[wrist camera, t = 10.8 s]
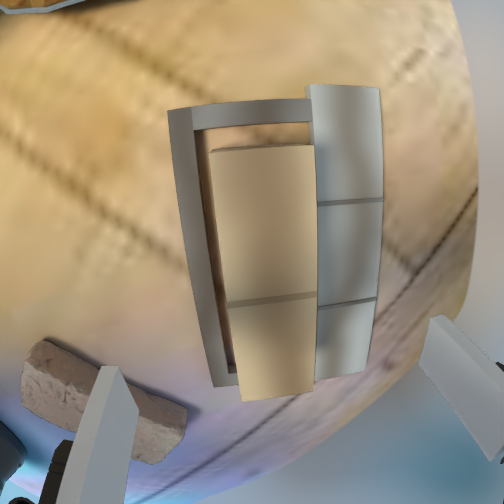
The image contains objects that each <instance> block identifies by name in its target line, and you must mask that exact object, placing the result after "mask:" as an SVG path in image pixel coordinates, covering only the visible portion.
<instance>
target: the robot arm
mask: <svg viewBox="0 0 504 504" xmlns="http://www.w3.org/2000/svg"><path fill="white" fill-rule="evenodd" d="M418 365H419V366H420V367H421V368H422V370H423V371H424V372H425V374H426V375H427V376H428V378H429V379H430V380H431V381H432V383H433V384H434V385H435V386H436V388H437V389H438V390H439V392H440V393H441V394H442V396H443V397H444V398H445V400H446V401H447V402H448V404H449V405H450V406H451V408H452V409H453V410H454V411H455V413H456V414H457V416H458V417H459V418H460V420H461V421H462V423H463V424H464V425H465V427H466V428H467V430H468V431H469V432H470V434H471V435H472V437H473V438H474V439H475V441H476V442H477V444H478V445H479V446H480V448H481V449H482V451H483V452H484V454H485V455H486V456H487V458H488V459H489V461H491V460H493V459H494V458H495V457H497V456H498V455H500V454H501V453H502V452H503V451H504V365H503V364H501V363H499V362H497V363H494V362H493V361H492V360H491V359H490V358H489V357H488V356H487V355H486V354H485V353H484V352H483V351H482V350H481V349H480V348H479V347H478V346H477V345H476V344H474V342H473V341H472V340H471V339H470V338H469V337H467V336H466V335H465V334H464V333H463V332H462V331H461V330H460V329H459V328H458V327H457V326H455V324H453V323H452V322H451V321H450V320H449V319H448V318H447V317H446V316H445V315H444V314H441V315H438V316H435V317H431V318H430V323H429V327H428V331H427V335H426V338H425V342H424V346H423V349H422V353H421V356H420V360H419V363H418ZM138 415H139V409H138V407H137V405H136V403H135V401H134V399H133V397H132V395H131V393H130V391H129V388H128V386H127V384H126V382H125V380H124V377H123V375H122V373H121V371H120V368H119V366H101V369H100V371H99V374H98V376H97V379H96V381H95V384H94V386H93V389H92V392H91V394H90V397H89V399H88V402H87V405H86V408H85V410H84V413H83V416H82V419H81V422H80V424H79V427H78V430H77V433H76V436H75V439H74V441H69V440H63V441H62V442H61V443H60V445H59V446H58V447H57V448H56V449H55V452H54V455H53V458H52V463H51V464H50V467H49V473H47V476H46V480H45V483H44V486H43V489H42V493H41V496H40V500H39V503H38V504H124V497H125V490H126V483H127V476H128V470H129V464H130V458H131V452H132V446H133V441H134V435H135V430H136V425H137V420H138ZM26 456H27V452H26V450H25V448H24V446H23V445H22V443H21V442H20V441H19V440H18V439H17V437H16V436H15V435H14V434H13V433H12V432H11V431H10V430H9V429H8V428H7V427H5V426H4V425H3V424H2V423H1V422H0V496H1V493H2V490H3V487H4V485H5V482H6V481H7V480H8V479H9V478H10V477H11V476H12V475H13V474H14V473H15V472H16V470H17V469H18V468H19V467H21V466H22V465H23V464H24V461H25V459H26ZM503 463H504V457H503V458H502V460H501V464H503ZM9 504H34V503H33V502H32V501H30V500H29V499H28V498H24V497H17V498H14V499H13V500H11V501H10V502H9ZM503 504H504V501H503Z"/></svg>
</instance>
